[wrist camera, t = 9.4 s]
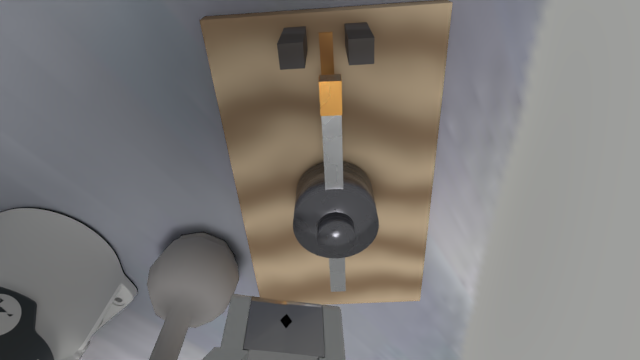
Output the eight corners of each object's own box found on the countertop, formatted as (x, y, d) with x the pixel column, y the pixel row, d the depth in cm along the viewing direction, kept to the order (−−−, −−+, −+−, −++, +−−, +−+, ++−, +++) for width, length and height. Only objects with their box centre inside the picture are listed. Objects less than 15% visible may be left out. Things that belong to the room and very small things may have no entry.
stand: (417, 290, 45) (430, 339, 39) (263, 296, 46) (255, 346, 40) (446, -1, 28) (476, 15, 23) (204, 16, 29) (177, 35, 23)
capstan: (370, 256, 40) (378, 307, 34) (302, 258, 40) (299, 309, 34) (375, 59, 29) (388, 88, 23) (282, 64, 29) (273, 93, 24)
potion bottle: (258, 266, 43) (223, 447, 28) (196, 292, 45) (133, 473, 30) (209, 211, 39) (136, 388, 24) (144, 244, 41) (39, 423, 26)
